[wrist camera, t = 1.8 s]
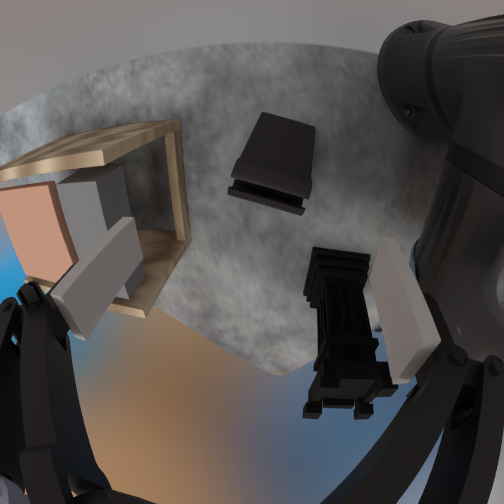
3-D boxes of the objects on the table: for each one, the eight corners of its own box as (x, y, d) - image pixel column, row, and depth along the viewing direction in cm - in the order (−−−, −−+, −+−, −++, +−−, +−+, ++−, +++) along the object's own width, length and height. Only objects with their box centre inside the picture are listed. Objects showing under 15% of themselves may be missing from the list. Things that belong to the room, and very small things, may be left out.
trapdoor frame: (180, 118, 29) (102, 149, 16) (191, 240, 38) (145, 318, 26) (60, 137, 31) (-15, 175, 19) (82, 231, 40) (27, 286, 28)
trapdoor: (122, 164, 21) (95, 181, 18) (146, 274, 28) (129, 299, 24) (16, 178, 23) (-6, 192, 20) (42, 257, 30) (25, 274, 27)
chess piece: (354, 297, 39) (369, 420, 23) (303, 291, 40) (297, 419, 24) (369, 254, 35) (404, 385, 19) (313, 246, 36) (316, 384, 19)
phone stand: (262, 111, 27) (242, 124, 17) (315, 127, 27) (327, 149, 17) (243, 183, 32) (218, 232, 22) (291, 197, 32) (288, 253, 22)
